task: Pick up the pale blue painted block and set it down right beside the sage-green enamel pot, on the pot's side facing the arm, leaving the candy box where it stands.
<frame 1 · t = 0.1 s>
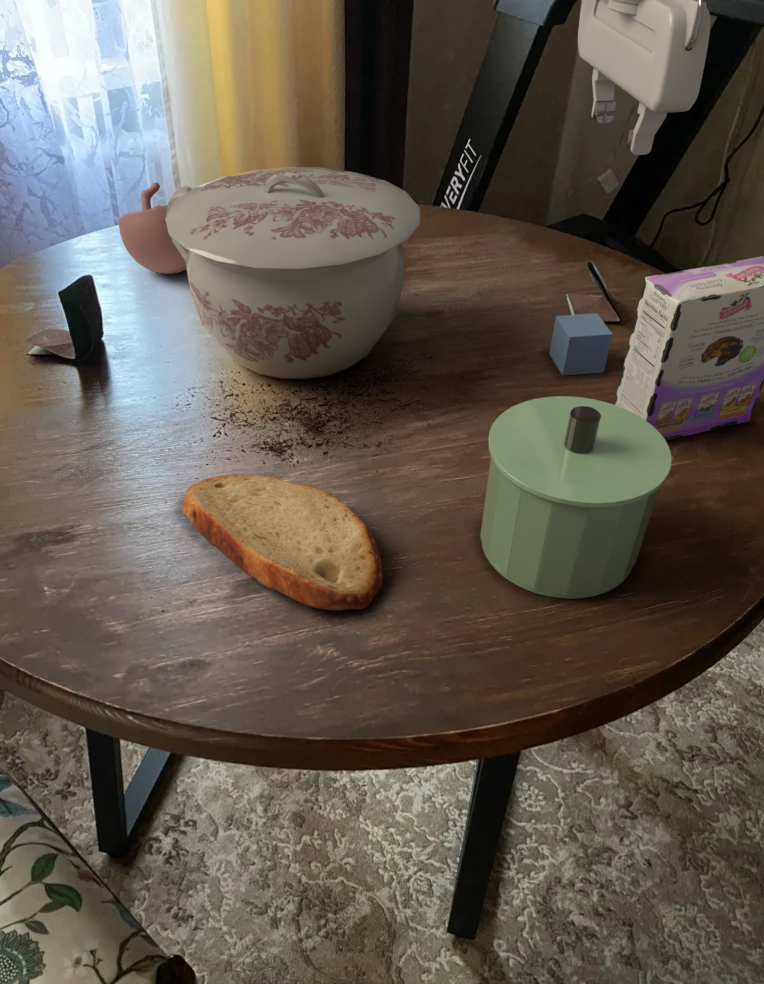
hand: (618, 136, 80), 26 cm above the table, tool pointing down, fingers open, 8 cm apart
pot lid: (577, 450, 69), point 10 cm above the table, touching pot
block: (576, 363, 99), on the table
candy box: (678, 422, 90), on the table
chamber pot: (299, 349, 102), on the table
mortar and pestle: (171, 270, 118), on the table
pot: (556, 544, 76), on the table
bread slice: (277, 548, 76), on the table
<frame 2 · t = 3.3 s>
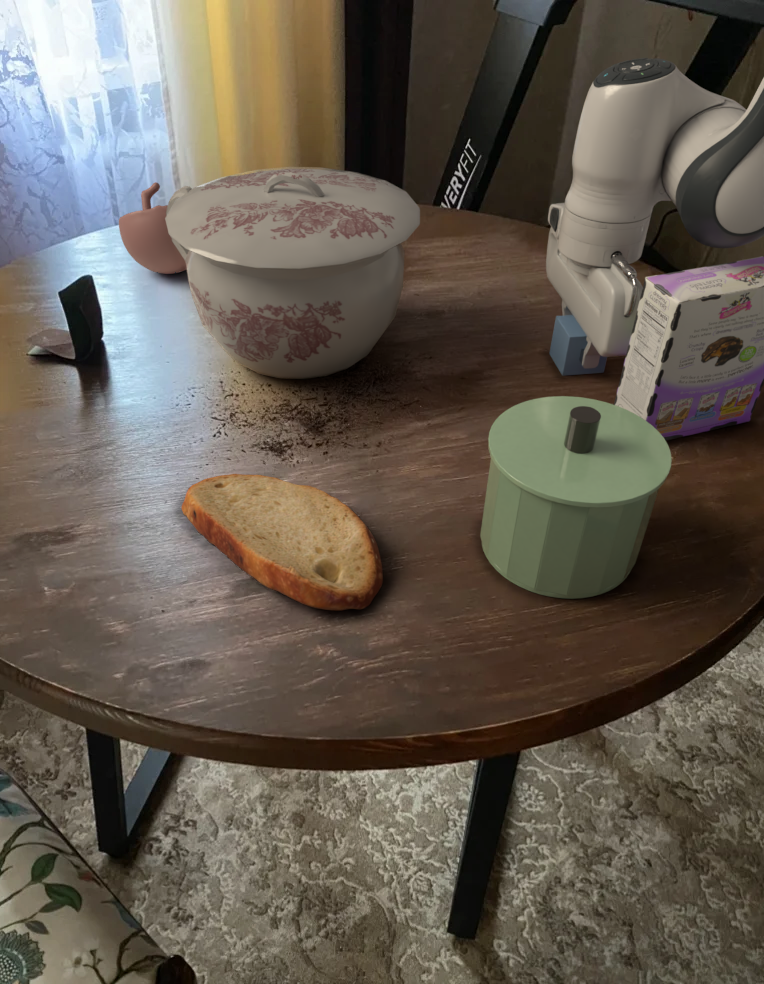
hand: (578, 350, 98), 2 cm above the table, tool pointing down, fingers closed on block, 5 cm apart
block: (576, 363, 99), on the table, touching gripper
everything else where it was.
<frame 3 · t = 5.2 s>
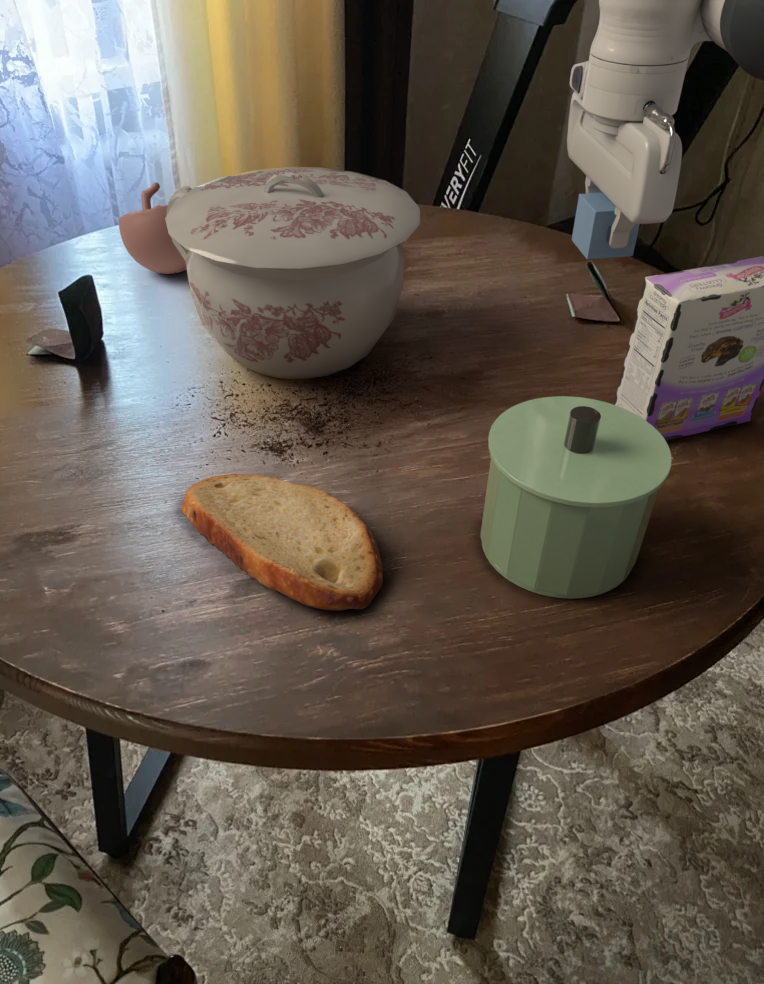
hand: (604, 232, 88), 16 cm above the table, tool pointing down, fingers closed on block, 5 cm apart
block: (601, 248, 89), point 14 cm above the table, touching gripper
everything else where it was.
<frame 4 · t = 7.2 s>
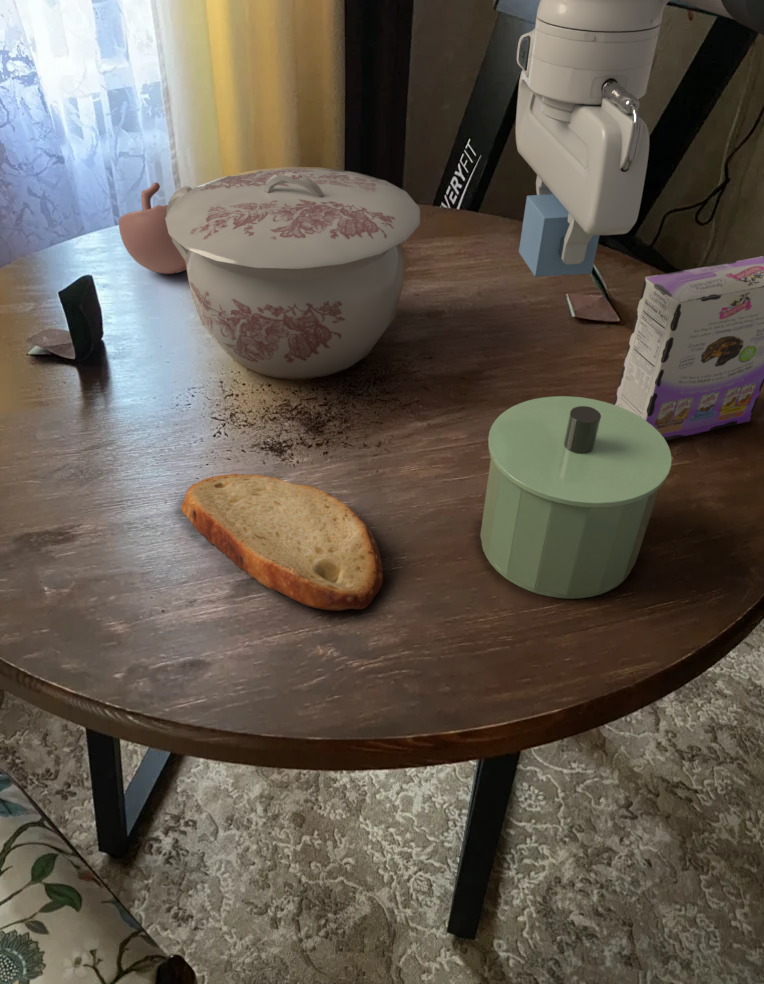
hand: (558, 244, 72), 22 cm above the table, tool pointing down, fingers closed on block, 5 cm apart
block: (554, 263, 73), point 20 cm above the table, touching gripper
everything else where it was.
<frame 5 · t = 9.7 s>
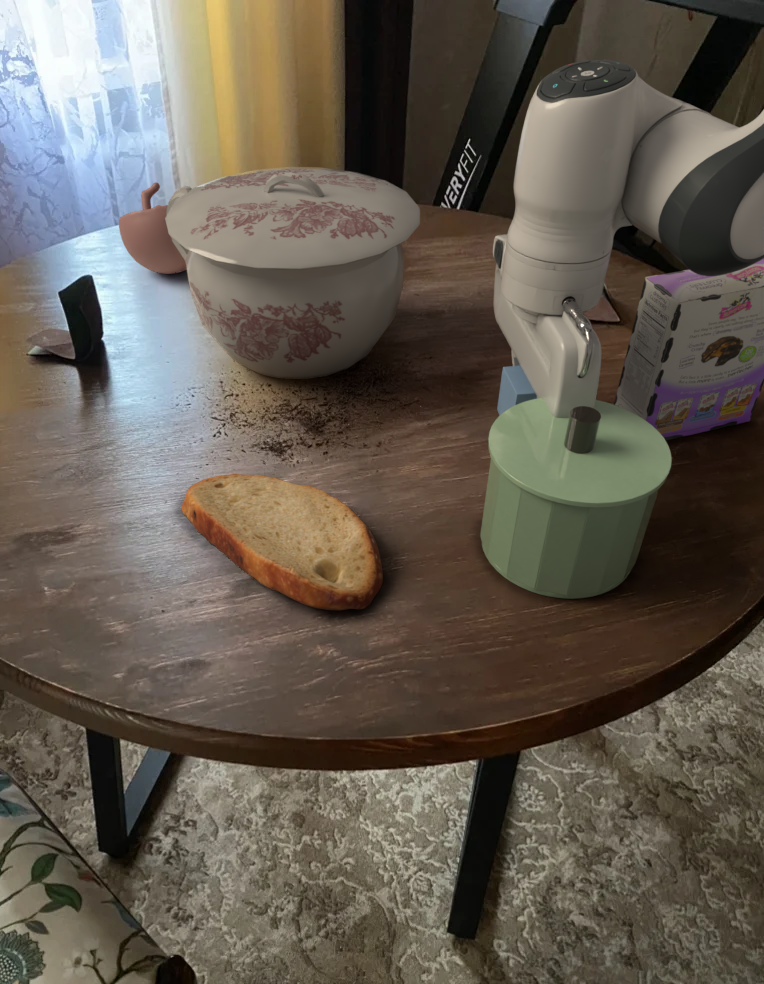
hand: (530, 407, 82), 5 cm above the table, tool pointing down, fingers closed on block, 5 cm apart
block: (527, 421, 83), point 4 cm above the table, touching gripper
everything else where it was.
when the fingers open (2 cm above the table, at t = 11.3 s): block stays where it is, on the table.
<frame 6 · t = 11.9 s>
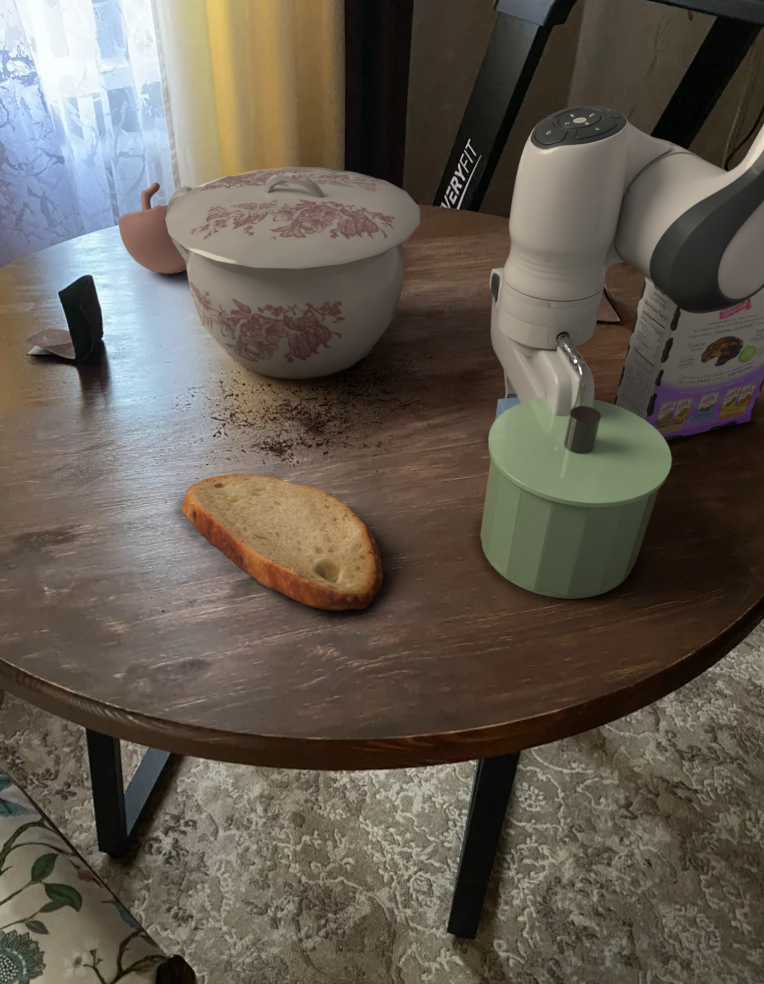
hand: (526, 434, 85), 2 cm above the table, tool pointing down, fingers open, 8 cm apart
block: (522, 451, 86), on the table
everything else where it was.
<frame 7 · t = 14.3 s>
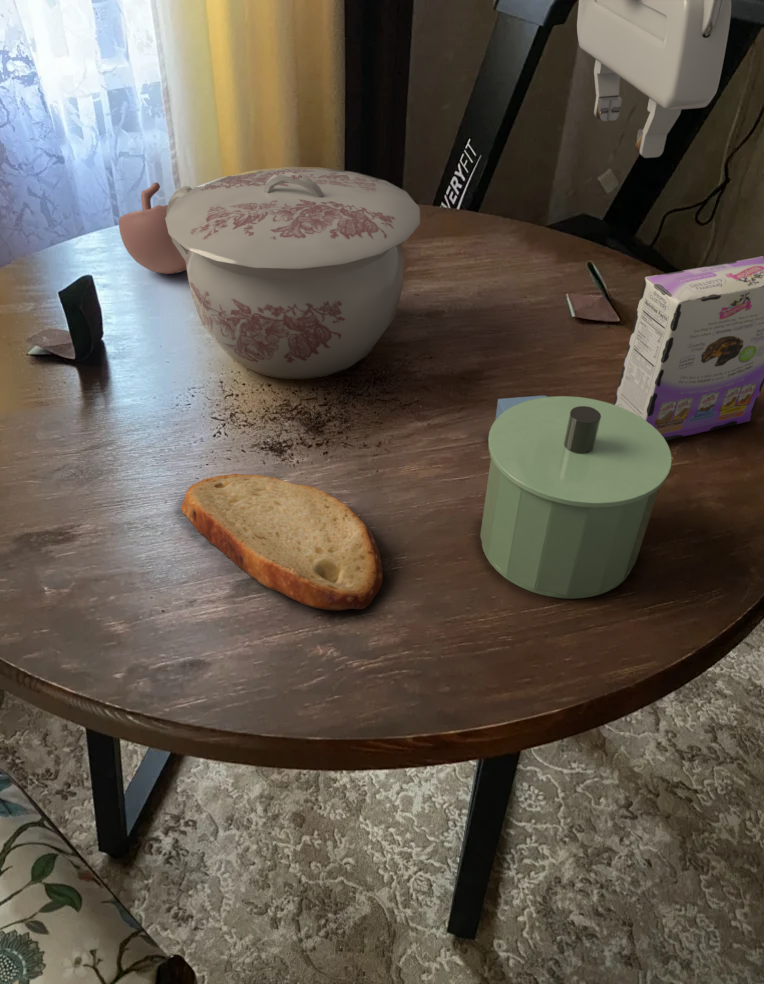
hand: (625, 135, 71), 29 cm above the table, tool pointing down, fingers open, 8 cm apart
nothing on the table moved.
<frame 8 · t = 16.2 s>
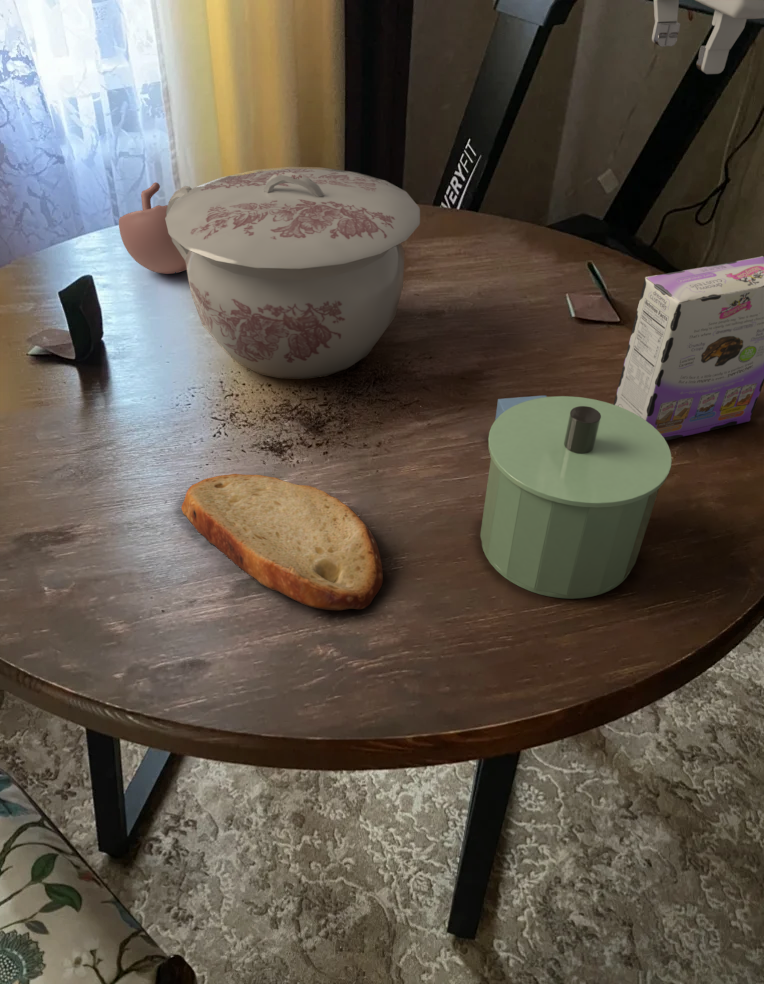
hand: (684, 57, 73), 33 cm above the table, tool pointing down, fingers open, 8 cm apart
nothing on the table moved.
at the end: block inside the target area on the table beside the pot (1.1 cm from its centre), on the table; block tilted 0°; the gripper is holding nothing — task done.
